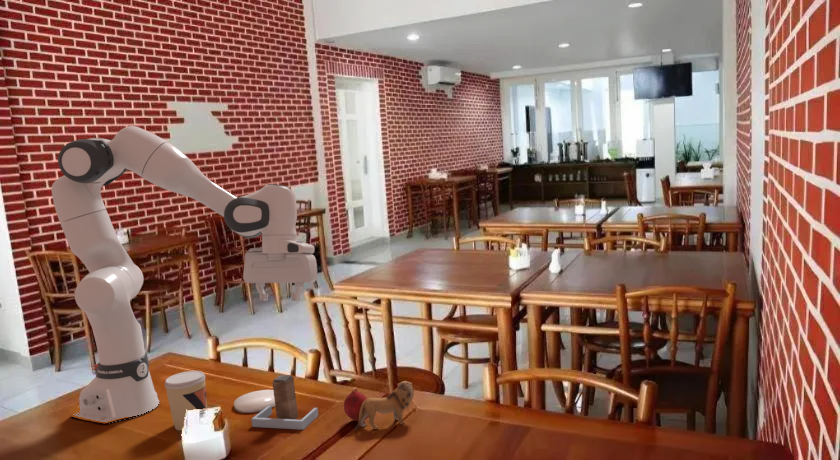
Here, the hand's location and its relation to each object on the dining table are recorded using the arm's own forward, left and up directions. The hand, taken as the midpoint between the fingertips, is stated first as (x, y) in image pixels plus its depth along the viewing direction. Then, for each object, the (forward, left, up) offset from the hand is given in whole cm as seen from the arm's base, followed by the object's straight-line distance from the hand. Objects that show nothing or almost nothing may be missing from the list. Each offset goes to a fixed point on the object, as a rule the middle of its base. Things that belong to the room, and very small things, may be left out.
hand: (279, 300), depth 163 cm
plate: (-7, -4, -26) cm, 28 cm away
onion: (+24, -12, -26) cm, 38 cm away
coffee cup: (-18, -18, -26) cm, 36 cm away
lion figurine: (+32, -12, -26) cm, 43 cm away
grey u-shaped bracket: (+6, -13, -26) cm, 30 cm away
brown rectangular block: (+6, -13, -26) cm, 30 cm away
